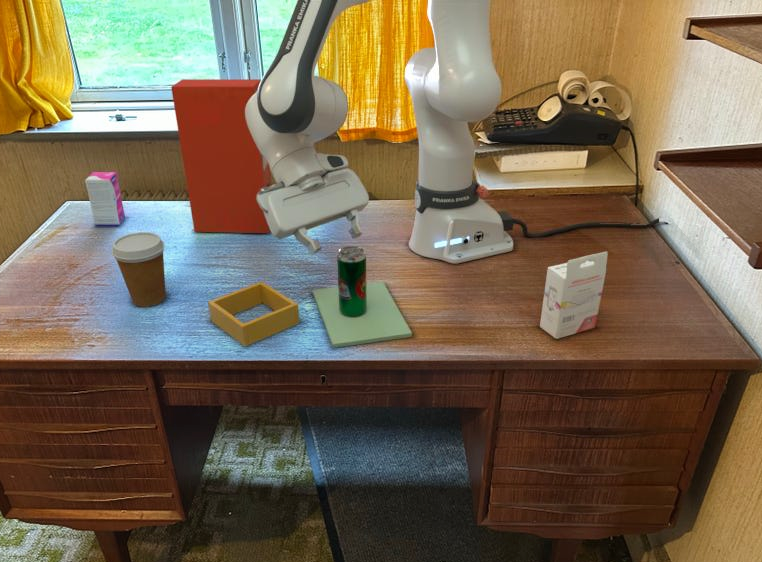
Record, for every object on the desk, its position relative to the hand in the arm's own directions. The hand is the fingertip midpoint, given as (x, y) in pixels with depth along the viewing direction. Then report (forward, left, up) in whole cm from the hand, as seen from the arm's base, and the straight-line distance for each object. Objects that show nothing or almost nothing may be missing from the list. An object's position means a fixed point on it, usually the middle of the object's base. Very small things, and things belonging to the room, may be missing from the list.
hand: (337, 243), depth 120 cm
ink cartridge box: (-37, +18, -13) cm, 43 cm away
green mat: (-3, +4, -13) cm, 13 cm away
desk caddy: (+16, +2, -13) cm, 21 cm away
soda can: (-2, +4, -12) cm, 13 cm away
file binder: (+16, -43, -13) cm, 48 cm away
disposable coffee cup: (+35, -12, -13) cm, 39 cm away
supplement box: (+45, -54, -13) cm, 72 cm away
